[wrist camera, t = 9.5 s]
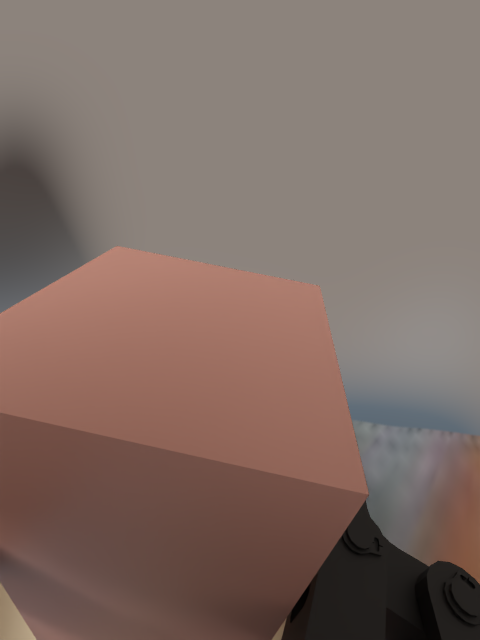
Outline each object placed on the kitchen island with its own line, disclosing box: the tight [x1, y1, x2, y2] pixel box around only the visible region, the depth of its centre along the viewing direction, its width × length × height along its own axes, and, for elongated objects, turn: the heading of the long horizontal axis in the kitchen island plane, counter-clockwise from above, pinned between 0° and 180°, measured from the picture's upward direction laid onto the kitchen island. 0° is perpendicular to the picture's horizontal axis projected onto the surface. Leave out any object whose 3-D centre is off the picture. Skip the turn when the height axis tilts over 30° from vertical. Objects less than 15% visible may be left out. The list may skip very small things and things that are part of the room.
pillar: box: [0, 246, 369, 640], centre depth 9 cm, size 6×6×11 cm
